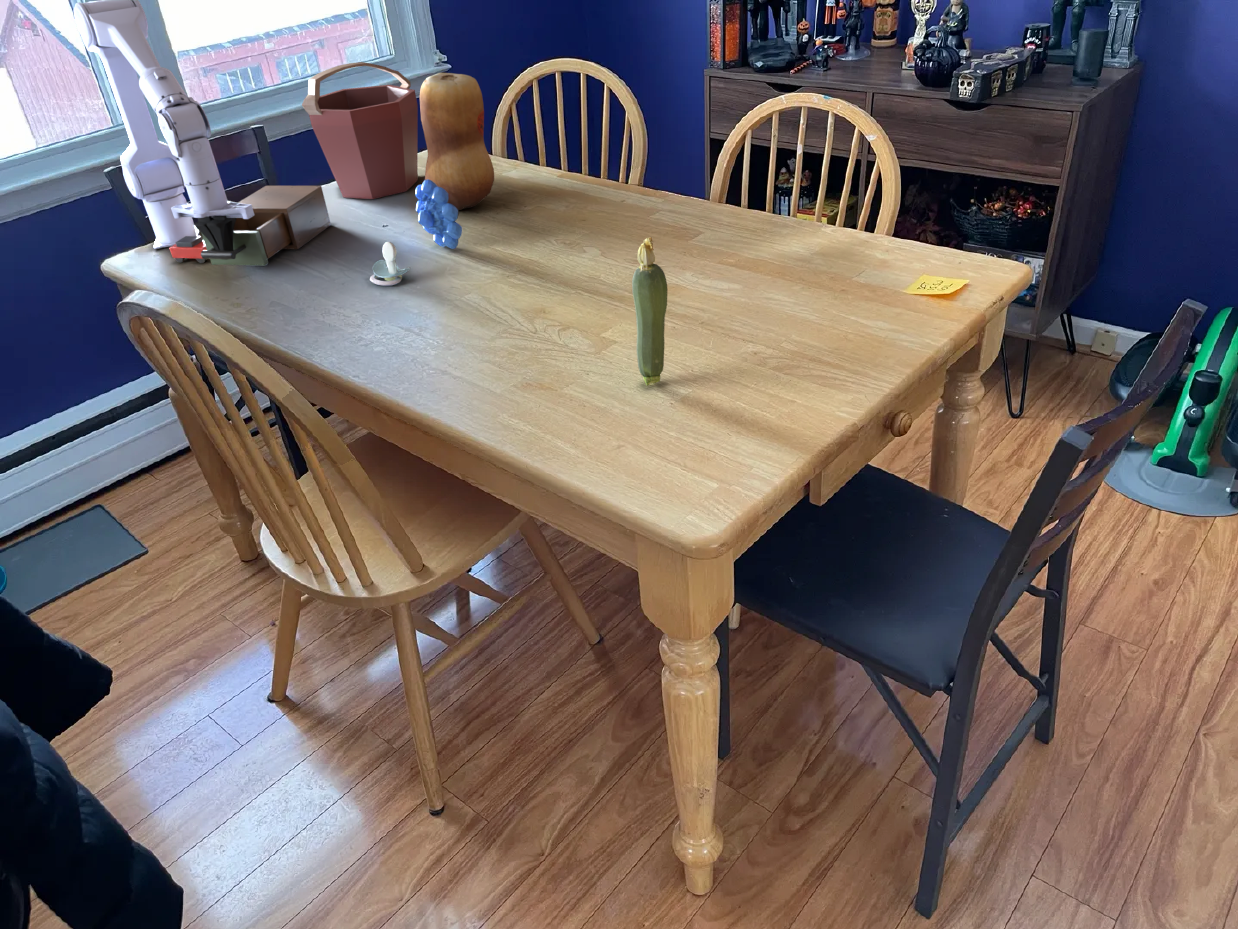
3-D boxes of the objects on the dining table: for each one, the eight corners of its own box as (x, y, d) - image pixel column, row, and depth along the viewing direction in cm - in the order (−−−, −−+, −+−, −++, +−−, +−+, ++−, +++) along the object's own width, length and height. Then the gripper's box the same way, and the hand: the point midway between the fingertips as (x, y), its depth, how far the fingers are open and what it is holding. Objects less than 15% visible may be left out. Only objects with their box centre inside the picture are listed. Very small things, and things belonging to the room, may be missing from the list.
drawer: (250, 276, 160) (239, 243, 157) (195, 275, 163) (184, 242, 159) (299, 240, 174) (290, 209, 170) (248, 240, 176) (238, 209, 173)
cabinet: (297, 249, 172) (286, 208, 168) (241, 248, 175) (228, 208, 171) (331, 224, 183) (321, 185, 179) (277, 224, 186) (266, 185, 181)
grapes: (406, 247, 169) (392, 181, 163) (436, 235, 173) (424, 171, 166) (443, 261, 162) (430, 193, 155) (474, 249, 166) (462, 182, 159)
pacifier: (390, 291, 153) (417, 277, 157) (381, 255, 149) (409, 242, 153) (362, 282, 157) (389, 269, 161) (353, 247, 153) (381, 235, 157)
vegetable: (636, 375, 123) (626, 229, 112) (669, 371, 123) (662, 225, 112) (640, 391, 119) (630, 242, 108) (673, 387, 119) (667, 238, 108)
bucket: (335, 211, 189) (303, 83, 175) (308, 186, 206) (276, 66, 192) (446, 185, 199) (425, 61, 185) (412, 163, 215) (389, 47, 201)
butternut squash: (494, 216, 180) (473, 80, 166) (426, 220, 181) (400, 86, 167) (502, 193, 192) (483, 64, 177) (438, 197, 192) (415, 69, 178)
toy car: (174, 262, 171) (167, 242, 169) (187, 254, 175) (180, 235, 173) (207, 263, 170) (200, 243, 168) (219, 255, 173) (213, 235, 171)
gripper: (150, 187, 153) (178, 265, 161) (226, 187, 150) (251, 266, 158) (176, 174, 159) (202, 250, 166) (250, 174, 156) (273, 251, 163)
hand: (227, 257), depth 162 cm, fingers closed, pressing on drawer
